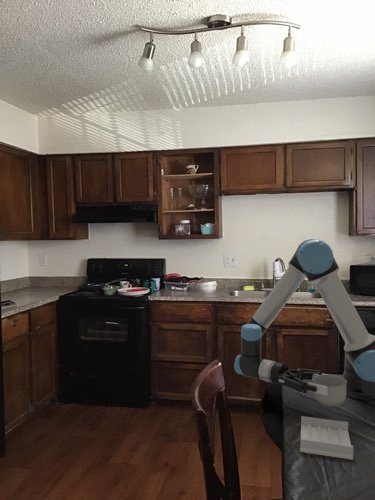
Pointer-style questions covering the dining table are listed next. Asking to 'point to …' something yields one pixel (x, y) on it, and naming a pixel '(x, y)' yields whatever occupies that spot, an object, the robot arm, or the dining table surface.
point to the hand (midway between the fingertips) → (334, 386)
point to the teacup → (330, 389)
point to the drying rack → (325, 437)
